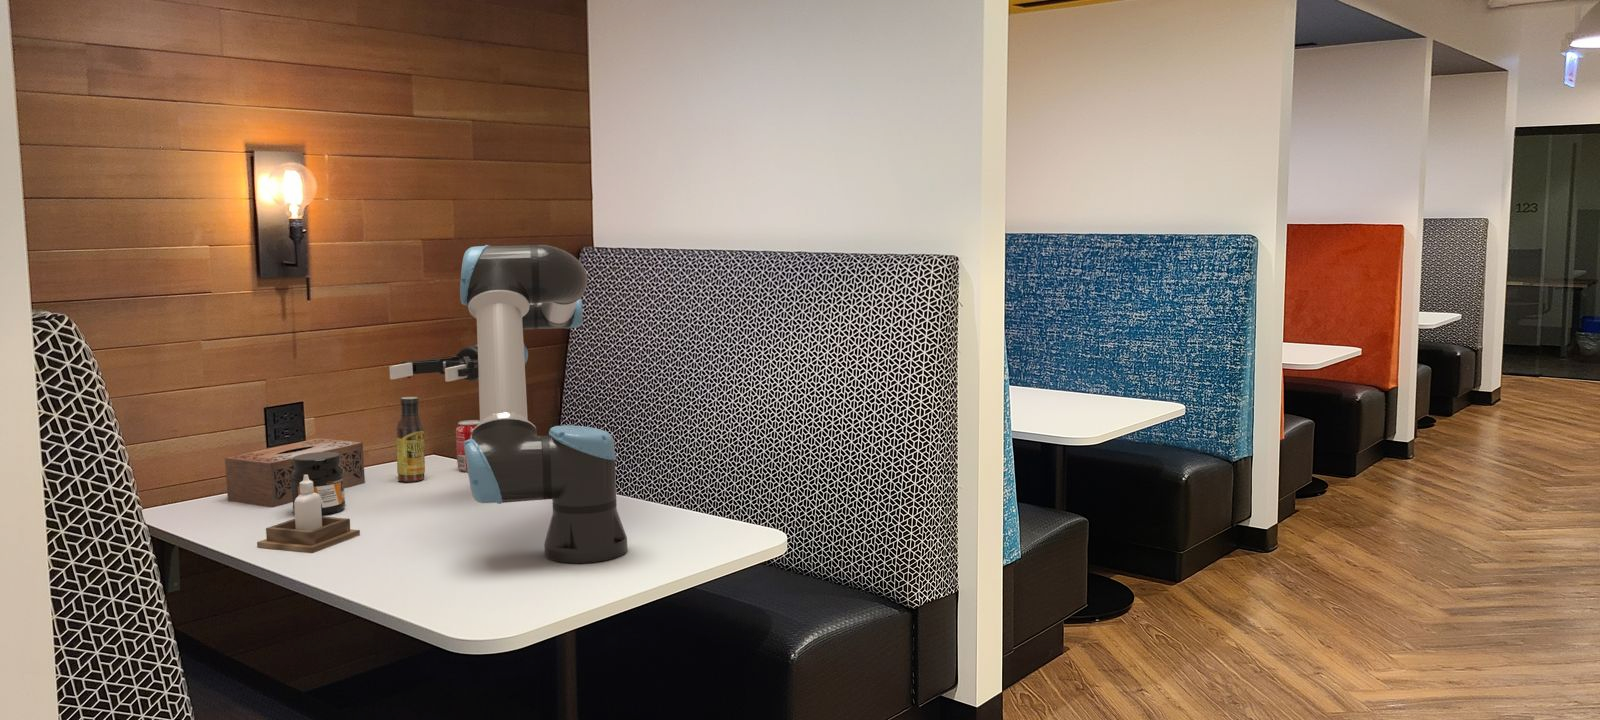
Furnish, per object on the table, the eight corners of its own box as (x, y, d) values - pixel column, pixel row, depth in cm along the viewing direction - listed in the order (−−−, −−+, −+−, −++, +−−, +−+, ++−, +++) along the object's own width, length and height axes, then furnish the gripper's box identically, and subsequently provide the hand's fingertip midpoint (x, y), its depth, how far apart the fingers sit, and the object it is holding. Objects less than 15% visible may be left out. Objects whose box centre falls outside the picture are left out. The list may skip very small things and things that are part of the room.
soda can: (491, 466, 295) (489, 419, 293) (480, 473, 288) (478, 424, 286) (463, 466, 295) (461, 419, 294) (452, 472, 288) (450, 424, 287)
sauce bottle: (409, 484, 276) (405, 400, 274) (392, 481, 279) (387, 398, 277) (431, 478, 282) (427, 396, 279) (414, 476, 285) (410, 395, 283)
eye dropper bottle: (290, 537, 227) (286, 476, 225) (318, 531, 231) (314, 471, 230) (300, 540, 224) (296, 479, 222) (329, 534, 228) (325, 474, 227)
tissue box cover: (273, 508, 255) (270, 463, 254) (227, 502, 262) (224, 458, 260) (365, 484, 278) (362, 442, 277) (321, 478, 284) (318, 438, 283)
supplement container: (334, 517, 246) (331, 460, 245) (284, 517, 246) (280, 461, 245) (353, 504, 257) (350, 450, 255) (305, 505, 257) (301, 451, 255)
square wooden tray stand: (359, 535, 231) (358, 517, 231) (312, 552, 219) (311, 534, 219) (306, 530, 236) (305, 513, 235) (257, 547, 223) (256, 529, 223)
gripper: (527, 380, 259) (471, 394, 239) (432, 376, 267) (369, 389, 247) (526, 346, 258) (469, 357, 238) (430, 343, 266) (367, 354, 246)
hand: (418, 373), depth 243 cm, fingers open, 13 cm apart
